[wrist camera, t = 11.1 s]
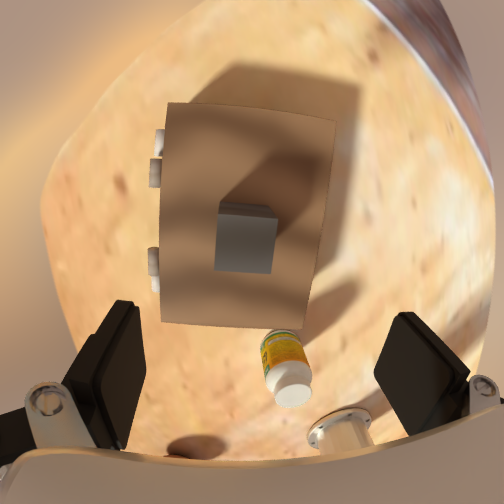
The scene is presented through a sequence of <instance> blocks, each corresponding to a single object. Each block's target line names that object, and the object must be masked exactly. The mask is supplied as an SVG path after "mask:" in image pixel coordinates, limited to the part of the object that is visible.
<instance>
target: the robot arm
mask: <svg viewBox="0 0 504 504" xmlns="http://www.w3.org/2000/svg"><path fill="white" fill-rule="evenodd" d="M470 372H471V371H470V370H469V369H468V368H467V366H466V365H465V364H464V363H463V362H462V361H461V360H460V359H459V358H458V357H457V356H456V355H455V354H454V353H453V351H452V350H451V349H450V348H449V347H448V346H447V345H446V344H445V343H444V342H443V341H442V340H441V339H440V338H439V337H438V336H437V335H436V334H435V333H434V332H433V331H432V330H431V329H430V328H429V327H428V326H427V325H426V324H425V323H424V322H423V321H422V320H421V319H420V318H419V317H418V316H417V315H416V314H415V313H414V312H400V313H399V314H398V315H397V316H396V317H395V318H394V320H393V322H392V325H391V328H390V331H389V333H388V336H387V339H386V341H385V344H384V346H383V349H382V351H381V354H380V356H379V359H378V361H377V363H376V366H375V368H374V377H375V379H376V380H377V382H378V384H379V385H380V387H381V389H382V391H383V392H384V394H385V396H386V397H387V399H388V401H389V402H390V404H391V406H392V408H393V409H394V411H395V413H396V415H397V416H398V418H399V420H400V422H401V423H402V425H403V427H404V429H405V430H406V432H407V434H408V435H409V437H405V438H402V439H398V440H395V441H391V442H387V443H383V444H379V445H374V443H373V440H372V438H371V436H370V434H369V432H368V428H369V427H370V425H371V421H372V420H371V416H370V414H369V413H368V412H367V411H366V410H364V409H360V408H352V409H345V410H341V411H338V412H335V413H333V414H330V415H328V416H326V417H324V418H323V419H321V420H320V421H318V422H317V423H316V424H314V425H313V426H312V428H311V429H310V430H309V432H308V434H307V440H308V443H309V445H310V446H311V447H313V448H316V449H319V451H320V456H312V457H303V458H293V459H281V460H263V461H214V460H195V459H181V458H170V457H161V456H153V455H146V454H139V453H131V452H124V451H120V449H123V450H125V448H126V446H127V442H128V438H129V434H130V430H131V426H132V422H133V419H134V415H135V411H136V408H137V404H138V400H139V397H140V393H141V390H142V386H143V383H144V380H145V376H146V362H145V355H144V347H143V339H142V330H141V320H140V310H139V307H138V306H134V303H133V302H132V301H124V300H116V302H115V303H114V305H113V306H112V308H111V309H110V311H109V312H108V314H107V315H106V317H105V318H104V320H103V322H102V323H101V325H100V326H99V328H98V330H97V331H96V333H95V334H91V335H90V336H89V337H88V339H87V340H86V342H85V344H84V345H83V347H82V348H81V350H80V352H79V353H78V355H77V357H76V358H75V360H74V362H73V363H72V365H71V367H70V368H69V370H68V372H67V374H66V375H65V377H64V379H63V381H62V382H61V384H59V383H56V382H42V383H40V384H37V385H35V386H34V387H33V388H31V389H30V390H29V391H28V393H27V394H26V397H25V407H23V408H21V409H17V410H14V411H11V412H8V413H5V414H2V415H0V504H504V399H503V398H501V397H500V394H499V389H498V387H497V385H496V384H495V382H493V381H492V380H491V379H490V378H488V377H486V376H483V375H474V376H472V377H471V379H470V380H469V382H467V380H466V379H467V377H468V375H469V373H470Z"/></svg>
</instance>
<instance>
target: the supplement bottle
mask: <svg viewBox="0 0 504 504" xmlns="http://www.w3.org/2000/svg"><path fill="white" fill-rule="evenodd" d="M260 351H261V357H262V363H263V369H264V375H265V382H266V385H267V387H268V389H269V390H270V391H271V392H272V393H274V397H275V401H276V403H277V404H278V405H279V406H282V407H284V408H294V407H298V406H301V405H303V404H304V403H306V402H307V401H308V400H309V399H310V397H311V395H312V390H311V387H310V383H311V380H312V372H311V369H310V366H309V363H308V361H307V358H306V355H305V353H304V350H303V347H302V345H301V342H300V339H299V338H298V336H297V335H296V334H294V333H293V332H291V331H287V330H278V331H274V332H272V333H270V334H268V335H267V336H266V337H265V338H264V339H263V341H262V343H261V346H260Z"/></svg>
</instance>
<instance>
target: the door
mask: <svg viewBox="0 0 504 504" xmlns="http://www.w3.org/2000/svg"><path fill="white" fill-rule="evenodd" d="M335 131H336V121H333V120H328V119H323V118H318V117H313V116H308V115H302V114H296V113H290V112H283V111H276V110H269V109H261V108H252V107H243V106H232V105H219V104H202V103H168V106H167V115H166V124H165V134H164V145H163V157H162V159H150V174H149V187H152V188H161V189H160V215H159V247H150V248H148V273H149V275H150V276H159V284H160V310H161V322H166V323H177V324H189V325H202V326H216V327H234V328H257V329H302V327H303V323H304V318H305V314H306V309H307V304H308V300H309V295H310V290H311V285H312V280H313V275H314V270H315V265H316V259H317V254H318V248H319V243H320V237H321V231H322V225H323V219H324V213H325V206H326V200H327V193H328V186H329V179H330V172H331V164H332V156H333V148H334V140H335Z"/></svg>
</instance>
